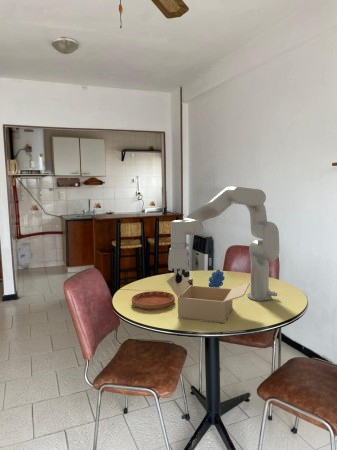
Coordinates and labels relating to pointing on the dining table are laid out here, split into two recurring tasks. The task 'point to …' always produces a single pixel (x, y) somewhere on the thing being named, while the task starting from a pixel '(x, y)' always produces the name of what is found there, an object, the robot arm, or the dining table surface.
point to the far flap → (178, 285)
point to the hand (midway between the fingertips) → (178, 282)
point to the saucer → (153, 300)
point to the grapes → (216, 279)
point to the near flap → (237, 292)
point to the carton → (204, 304)
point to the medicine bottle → (188, 278)
